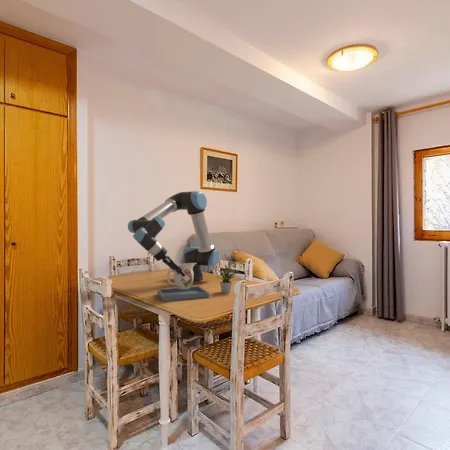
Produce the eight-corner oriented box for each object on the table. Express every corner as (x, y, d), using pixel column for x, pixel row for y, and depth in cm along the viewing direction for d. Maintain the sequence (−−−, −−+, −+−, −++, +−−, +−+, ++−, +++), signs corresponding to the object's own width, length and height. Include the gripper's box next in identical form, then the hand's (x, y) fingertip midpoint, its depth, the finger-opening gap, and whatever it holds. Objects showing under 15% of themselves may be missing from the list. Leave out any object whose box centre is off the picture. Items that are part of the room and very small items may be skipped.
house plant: (217, 296, 182) (217, 267, 182) (208, 291, 195) (208, 264, 194) (240, 294, 188) (240, 265, 187) (230, 289, 200) (230, 262, 200)
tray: (198, 290, 196) (198, 286, 196) (208, 297, 179) (208, 292, 179) (157, 294, 186) (157, 289, 186) (163, 302, 169) (163, 296, 169)
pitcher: (163, 288, 182) (163, 263, 182) (192, 285, 191) (192, 261, 191) (170, 292, 173) (170, 266, 172) (200, 288, 182) (201, 264, 182)
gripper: (149, 254, 186) (175, 279, 193) (156, 258, 165) (186, 287, 171) (158, 244, 188) (184, 270, 195) (167, 248, 167) (196, 276, 173)
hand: (185, 278), depth 183 cm, fingers closed on pitcher, 11 cm apart
